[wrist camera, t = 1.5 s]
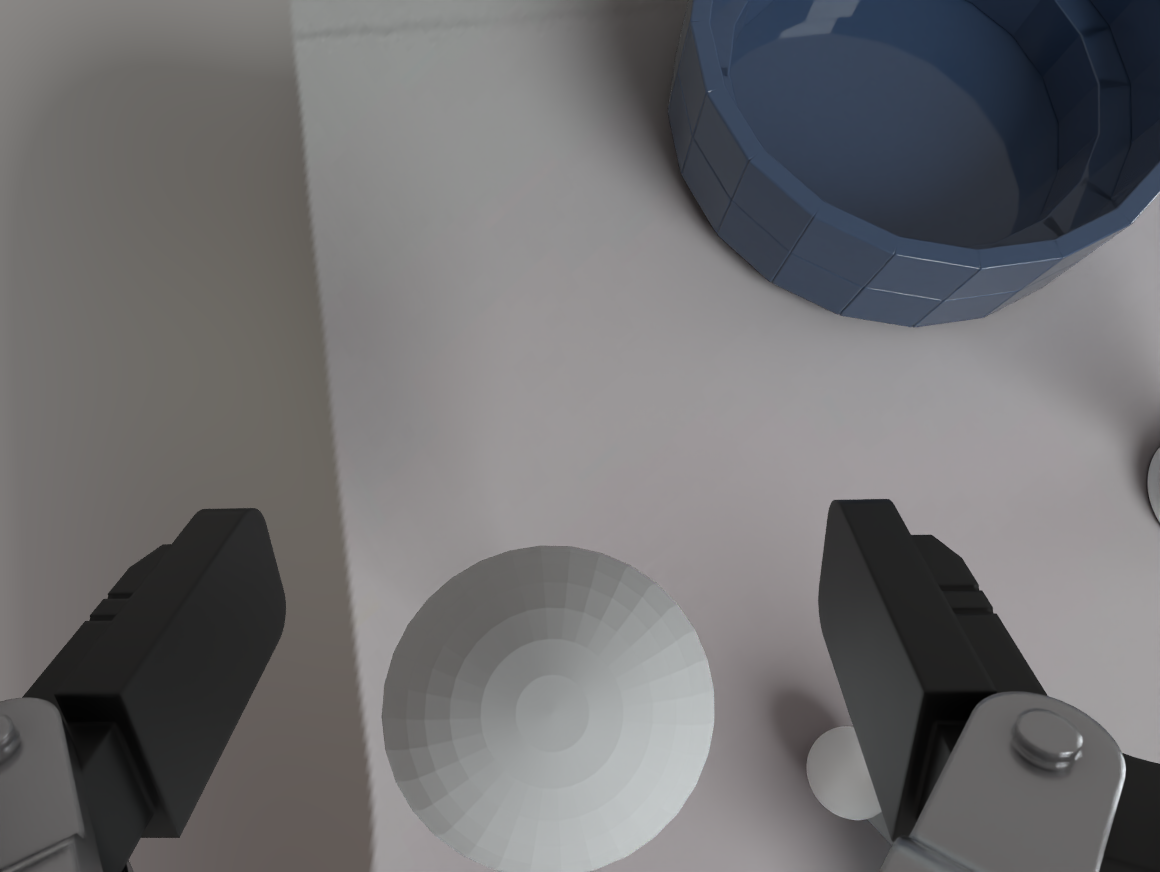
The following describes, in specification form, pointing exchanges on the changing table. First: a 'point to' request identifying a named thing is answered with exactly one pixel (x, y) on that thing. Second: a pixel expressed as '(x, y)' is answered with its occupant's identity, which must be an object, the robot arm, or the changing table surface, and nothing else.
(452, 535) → the changing table surface
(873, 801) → the molecule model
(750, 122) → the bowl
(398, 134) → the changing table surface
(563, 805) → the lollipop
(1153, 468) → the chess piece
